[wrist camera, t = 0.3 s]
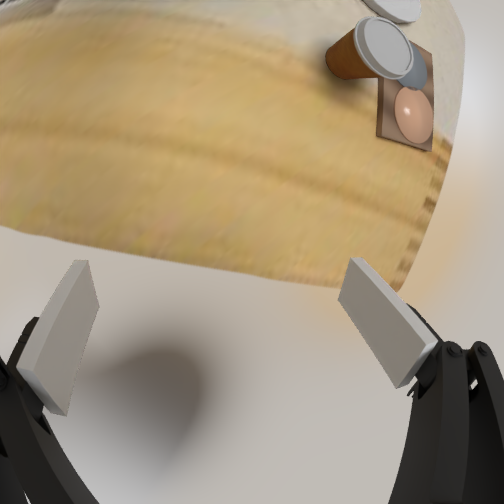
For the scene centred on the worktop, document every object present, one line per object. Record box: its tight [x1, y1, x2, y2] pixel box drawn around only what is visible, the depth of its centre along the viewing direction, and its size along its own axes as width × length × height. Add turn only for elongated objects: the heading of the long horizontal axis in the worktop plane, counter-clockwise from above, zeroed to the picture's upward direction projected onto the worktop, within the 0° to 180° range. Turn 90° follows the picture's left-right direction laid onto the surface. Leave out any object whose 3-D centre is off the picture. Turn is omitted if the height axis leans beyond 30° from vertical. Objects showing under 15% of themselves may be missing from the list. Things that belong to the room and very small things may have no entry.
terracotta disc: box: [394, 86, 433, 144], centre depth 38 cm, size 11×11×1 cm
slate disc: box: [396, 41, 427, 91], centre depth 34 cm, size 11×11×1 cm
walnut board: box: [376, 40, 434, 152], centre depth 36 cm, size 22×14×2 cm, turn 176°
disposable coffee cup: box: [326, 17, 414, 79], centre depth 28 cm, size 10×10×12 cm
